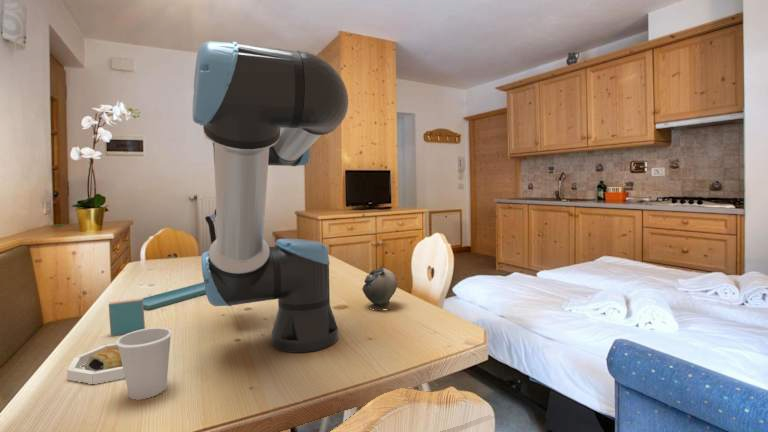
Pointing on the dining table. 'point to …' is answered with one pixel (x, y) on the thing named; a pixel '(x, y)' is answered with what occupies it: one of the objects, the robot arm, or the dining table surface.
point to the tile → (126, 316)
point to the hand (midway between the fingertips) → (234, 277)
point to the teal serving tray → (174, 296)
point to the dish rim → (93, 376)
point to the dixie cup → (145, 361)
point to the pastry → (104, 360)
